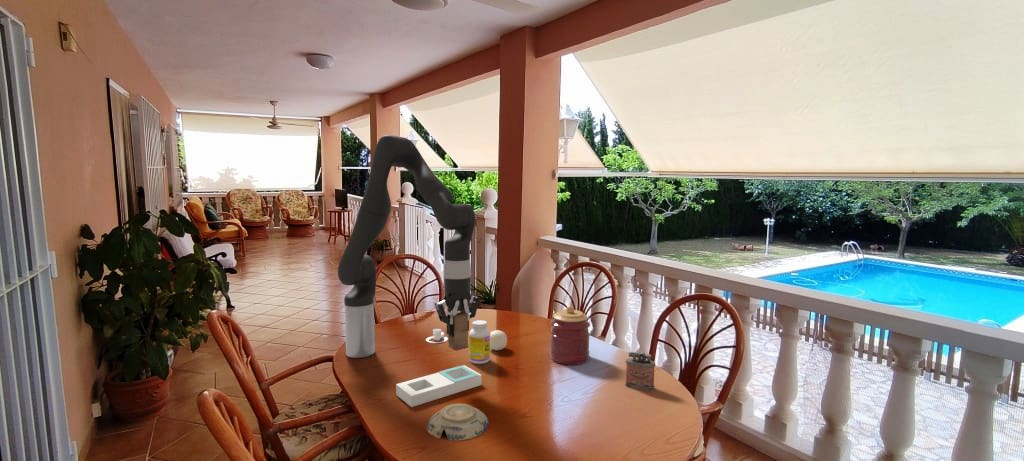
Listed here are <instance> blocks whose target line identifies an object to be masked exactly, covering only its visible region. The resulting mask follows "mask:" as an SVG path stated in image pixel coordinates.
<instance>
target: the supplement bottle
mask: <svg viewBox="0 0 1024 461" xmlns="http://www.w3.org/2000/svg"><path fill="white" fill-rule="evenodd" d="M471 324H472V325H471V326H472V328H471V329H470V330H469V331H468V348H469V350H468V351H469V352H468V354H469V355H468V356H469V357H468V358H469V362H470V363H472V364H474V365H482V364H483V365H484V364H487V363H489V361H490V359H491V358H490V356H491V354H490V353H491V351H490V350H491V348H490V333H491V332H490V330H489V329H487V327H488V322H487V321H486V320H479V319H478V320H474V321H472V323H471Z"/></svg>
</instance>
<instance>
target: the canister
mask: <svg viewBox="0 0 1024 461" xmlns="http://www.w3.org/2000/svg"><path fill="white" fill-rule="evenodd" d="M552 317H553V319H551V320H550V322H549V323H550V325H551V330H550V332H549V334H550V347H549V355H550V359H551V360H552V361H554V362H556V363H559V364H563V365H579V364H580V365H581V364H585V363H586V362H588V360H589V356H590V335H591V334H590V331H589V328H590V326H591V323H590V322H589V321H588V316H587V314H585V313H584V312H583V311H581V310H579V309H575V308H574V306H573V305H568V306H566V308H565V309H560V310H557V311H556V312H554V313H553V315H552Z"/></svg>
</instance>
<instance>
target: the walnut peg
mask: <svg viewBox="0 0 1024 461" xmlns="http://www.w3.org/2000/svg"><path fill="white" fill-rule="evenodd" d="M453 324H454V337H450V336H449V335H448V334H447V335H448V336H447V338H448V340H447V342H448V348H450V349H452V350H453V351H460V350H465V349H468V348H469V331H468V313H464V312H461V311H458V312H457V314H456V315H455V316H454V323H453Z"/></svg>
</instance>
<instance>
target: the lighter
mask: <svg viewBox="0 0 1024 461" xmlns="http://www.w3.org/2000/svg"><path fill="white" fill-rule="evenodd" d="M628 357H629V358H626V359H625V363H626V368H625V372H626V373H625V382H624V386H626V387H627V388H632V389H637V390H645V391H653V390H655V366H656V362H655V361H653V360H651V359H652V355H651V354H649V353H645V352H644V351H640V353H639V352H637V351H628Z"/></svg>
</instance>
